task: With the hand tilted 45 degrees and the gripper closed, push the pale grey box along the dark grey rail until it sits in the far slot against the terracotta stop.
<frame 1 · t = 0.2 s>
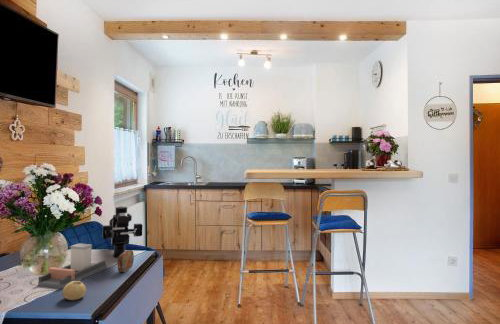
hand: (124, 235, 167), 17 cm above the table, tool horizontal, fingers open, 9 cm apart
cable rail: (74, 275, 157), on the table
onion: (74, 298, 133), on the table
pale grey box: (81, 257, 161), point 7 cm above the table, slide at 0.0 cm
tin: (125, 269, 168), on the table
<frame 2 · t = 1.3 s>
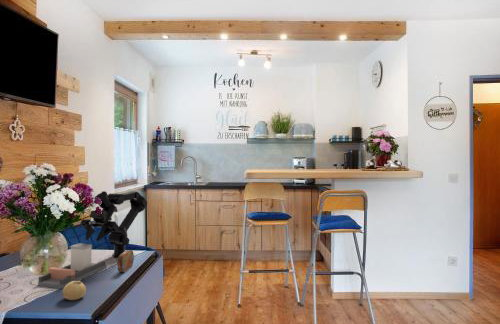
hand: (91, 240, 168), 14 cm above the table, tool tilted 45°, fingers open, 6 cm apart
nothing on the table moved.
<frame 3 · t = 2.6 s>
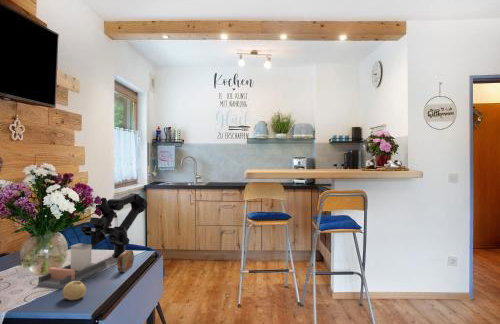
hand: (91, 246, 168), 10 cm above the table, tool tilted 45°, fingers closed
nothing on the table moved.
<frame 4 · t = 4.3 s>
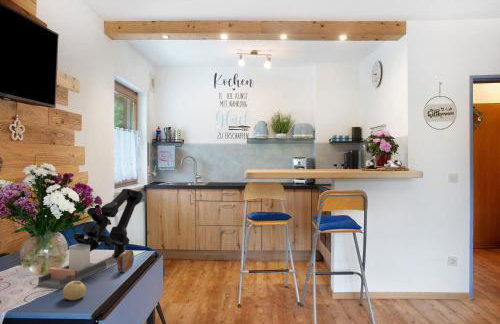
hand: (83, 255, 163), 8 cm above the table, tool tilted 45°, fingers closed, pressing on pale grey box
pale grey box: (79, 257, 160), point 7 cm above the table, slide at 1.1 cm, touching gripper
everything else where it was.
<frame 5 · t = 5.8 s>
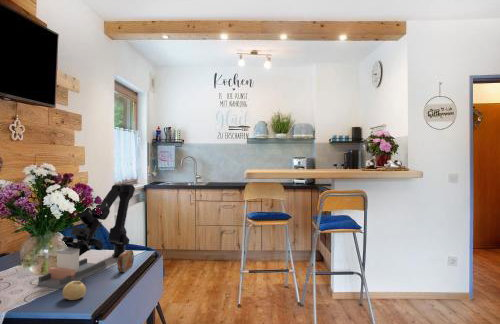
hand: (72, 259, 156), 8 cm above the table, tool tilted 45°, fingers closed, pressing on pale grey box
pale grey box: (68, 262, 153), point 7 cm above the table, slide at 8.1 cm, touching gripper
everything else where it was.
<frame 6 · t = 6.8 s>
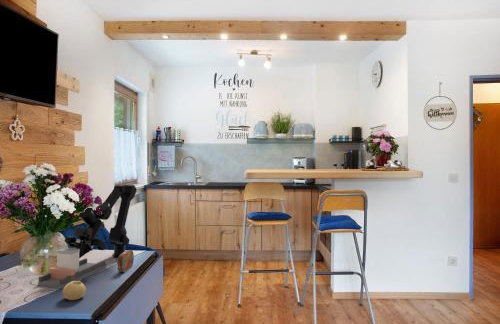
hand: (75, 259, 158), 7 cm above the table, tool tilted 45°, fingers closed
pale grey box: (68, 262, 153), point 7 cm above the table, slide at 8.0 cm
everything else where it was.
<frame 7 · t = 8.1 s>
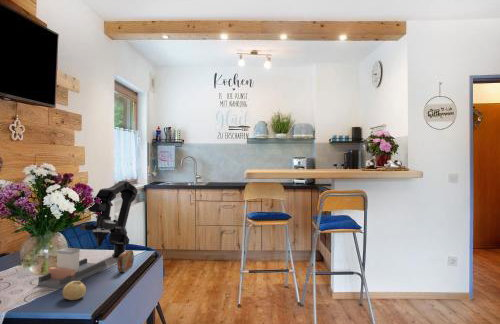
hand: (98, 246, 169), 10 cm above the table, tool pointing down, fingers closed
nothing on the table moved.
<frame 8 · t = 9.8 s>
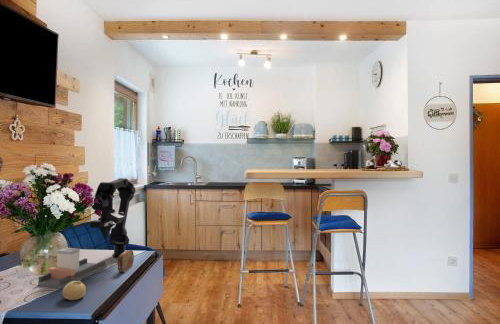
hand: (106, 238, 174), 13 cm above the table, tool pointing down, fingers closed
nothing on the table moved.
at the end: pale grey box slide at 8.0 cm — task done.
